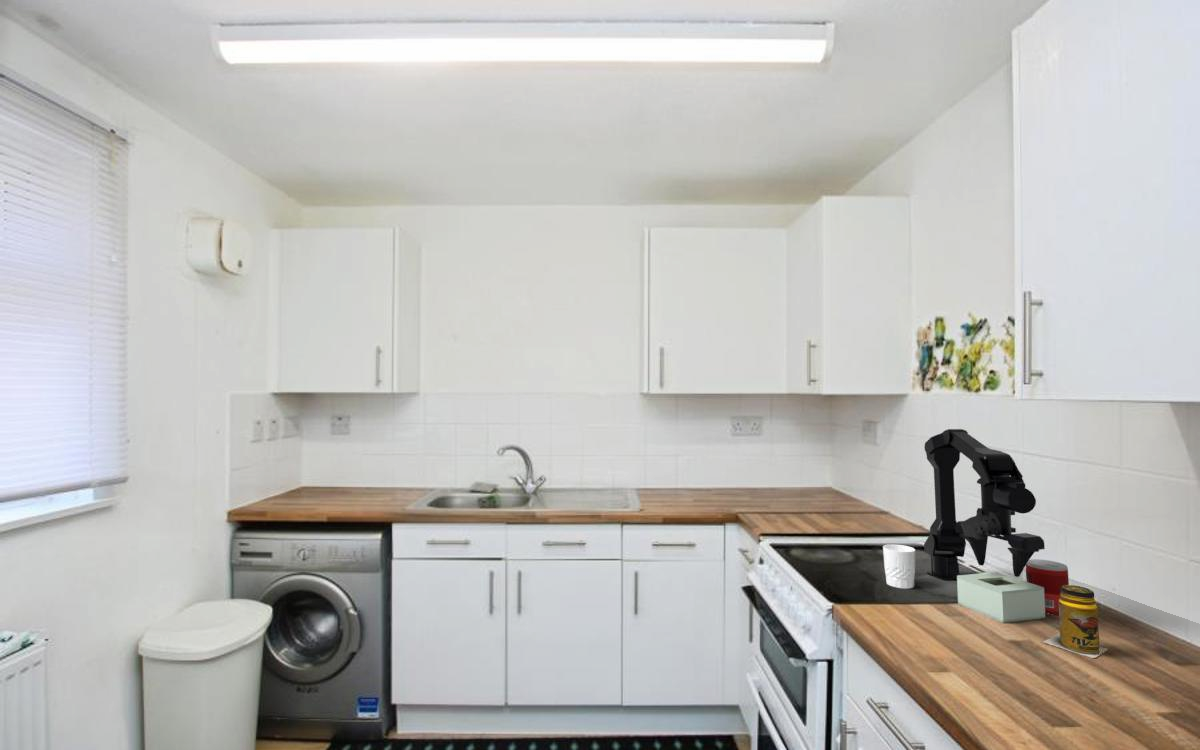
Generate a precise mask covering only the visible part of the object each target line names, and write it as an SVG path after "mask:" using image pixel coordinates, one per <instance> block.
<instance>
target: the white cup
mask: <svg viewBox="0 0 1200 750" xmlns="http://www.w3.org/2000/svg"><path fill="white" fill-rule="evenodd" d="M882 552H883V565H884V573H885V581H886V584H887V585H888V586H890V587H893V588H897V589H905V590H907V589H913V588H915V576H916V549H915V548H914V547H912V546H909V545H908V546H907V545H903V544H893V543H892V544H885V545H883V546H882Z"/></svg>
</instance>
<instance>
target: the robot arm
mask: <svg viewBox="0 0 1200 750" xmlns="http://www.w3.org/2000/svg"><path fill="white" fill-rule="evenodd" d="M923 447H924V451H925V455H926V460H927V461H928V462H929V464H930V465H931V467H932V468H933V479H934V500H935V501H934V502H935V519H934V521H933V522H932V524H931V525H930V527H929V535H928V537H927V538H926V540H925V542H924V544H923V549H924V552H925V554H928V555H929V556H930V567H931V570H929V571H926V574H928V575H931V576H932V577H935V578H938V579H941V580H943V581H949V580H957V576H958V575H960V567H959V566H960V564H959V559H958V557H961V558H964V556H965V553H966V552H965V551H966V546H967V545H966V544H967V542H968V544H969V545H970V548H971V550H972V553H973V554H974V557H975V559H976V561H977V564H978V565H979V566H984V565H985V561H986V555H987V546H988V539H989V537H990V538H995V539H997V540H1001V541H1002V540H1003V541H1005V542H1007V543H1008V545H1009V546H1010V547H1007V550H1008V551H1009V553H1011V557H1012V571H1013V577H1014V578H1017V577H1018V578H1019V577H1020V576H1021V574H1022V573H1023V570H1024V569H1025V568H1026V564H1027V562H1028V560H1031V558H1032V556H1033V555H1034V554H1035V553H1038V552H1040V551H1041V550H1046V549H1045V541H1044V539H1043V538H1042V536H1040V535H1037V534H1032V533H1027V532H1023V533H1017V528H1016V527H1012V516H1015V515H1016V513H1018V514H1023V515H1024V514H1027V513H1030V512H1032V511H1033V509H1034V508H1035V507H1036V504H1037V500H1036V497H1035V495H1034V493H1033V492H1032V490H1030V489H1027V488H1026V483H1025V480H1024V479H1023V477H1024V476H1023V475H1022V473H1021V471H1020V470H1019V468H1018V467H1017V464H1016V462H1015V460H1014V459H1013V457H1012V456H1011V455H1010V454H1009V453H1007V452H1004V451H1001V450H998V449H991V448H989V447H988V446H986V445H985V444H983V443H981V442H980V441H979V440H978V439H976V438H975V437H973V436H972V435H971V434H969V432H968V431H967V430H965V429H962V428H948V429H945V430H943V431H942V432H941V433H938V434H936V435H933V436H931V437H930V438H928V439H927V441H926V442H924V446H923ZM961 454H962V455H964V456H965V457H966V458H967V459H968V460H970V461H971V462H972V466H971V467H972V468H973V470H974V471H975V472H976V473H977V475H978V476H979V477H980V478H978V479H977V481H976V484H979V485H980V496H981V502H980V503H981V507H977V510H976V515H975V516H971V517H968V518H967V519H965V520H959V521H958V520H957V518H956V517H957V515H956V513H957V512H956V495H955V492H956V491H955V476H954V475H955V474H954V472H955V471H954V470H955V468H956V467H957V465H958V463H959V462H960V458H961Z"/></svg>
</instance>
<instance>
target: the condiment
mask: <svg viewBox="0 0 1200 750" xmlns="http://www.w3.org/2000/svg"><path fill="white" fill-rule="evenodd" d="M1060 590H1061V593H1060V597H1061V598H1060V599H1059V615H1058V617H1059V633H1056V634H1054V635H1053V636H1052V637H1050V638H1048V639H1045V640H1044V641H1042V643H1044V644H1048V645H1050V646H1054V647H1057V648H1059V649H1060V648H1061V649H1062V650H1066V651H1069V652H1071V653H1075V654H1078V655H1080V656H1084V657H1087V658H1091V659H1095V658H1098V657H1099V656H1101V655H1103V654H1104V653H1105V652H1106V651H1108V650H1109V649H1108V648H1106V647H1102V646H1101V645H1100V630H1099V619H1098V618H1099V609H1098V606H1097V605H1096V604H1097V603H1096V599H1095V592H1094V591H1093V590H1092V589H1089V588H1087V587H1083V586H1080V585H1074V584H1069V585H1063V586H1061V588H1060ZM1099 650H1100V651H1101V655H1100V654H1099V653H1100V651H1099ZM1102 652H1103V653H1102ZM1096 654H1097V655H1096Z"/></svg>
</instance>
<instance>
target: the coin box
mask: <svg viewBox="0 0 1200 750" xmlns="http://www.w3.org/2000/svg"><path fill="white" fill-rule="evenodd" d="M956 583H957V584H956V585H957V586H956V589H957V604H958V605H959V606H962V607H964V608H966V609H968V610H971V611H973V612H975V613H978V614H980V615H983V616H986V617H988V618H990V619H993V620H995V621H997V622H1000V623H1003V624H1006V623H1008V624H1009V623H1015V622H1025V621H1033V619H1034V620H1042V619H1041V618H1043V619H1046V614H1045V597H1044V587H1041V586H1038V585H1035V584H1032V583H1029V582H1026V581H1025V580H1022V579H1019V578H1017V577H1014V576H1013V577H1012V576H1009V575H1008V574H1007V575H1006V574H1003V573H1000V572H997V571H994V572H985V573H984V572H982V573H971V574H959V575H958V576H957V579H956ZM1000 584H1002V585H1000ZM995 585H1000V586H995Z"/></svg>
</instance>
